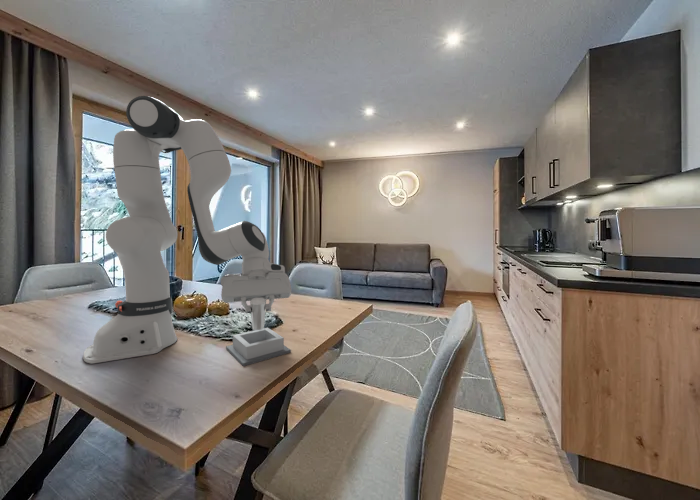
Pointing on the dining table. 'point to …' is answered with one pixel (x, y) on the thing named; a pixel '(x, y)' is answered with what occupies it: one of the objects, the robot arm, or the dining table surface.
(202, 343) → the dining table surface
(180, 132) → the robot arm
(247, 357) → the sleeve housing
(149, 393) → the dining table surface
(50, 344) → the dining table surface
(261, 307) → the milkshake
